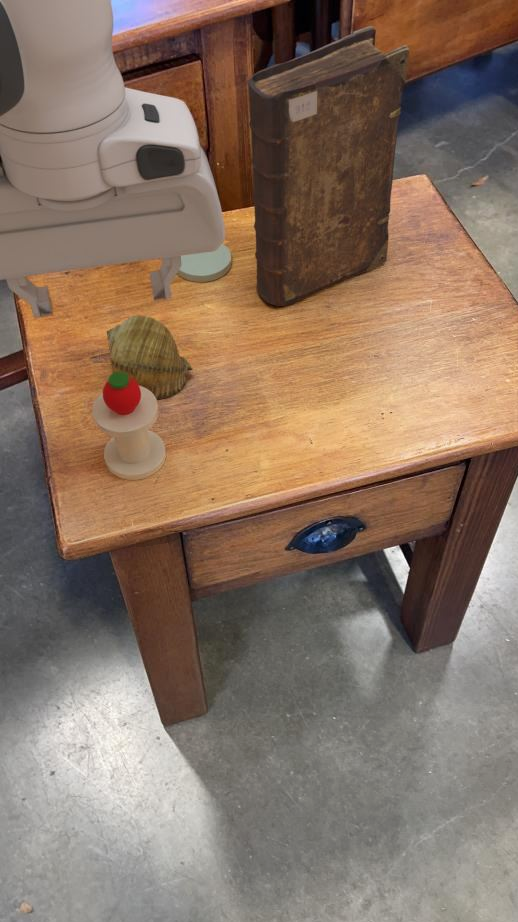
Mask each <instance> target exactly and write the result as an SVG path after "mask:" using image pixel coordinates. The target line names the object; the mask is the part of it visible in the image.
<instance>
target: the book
mask: <svg viewBox="0 0 518 922" xmlns="http://www.w3.org/2000/svg"><path fill="white" fill-rule="evenodd" d="M376 32H377V30H376V28H375V27H374V26H373V25H369V26H367V27H363V28H359V29H357V30H355V31H353V32H352V33H350V34H348V35H345V36H343V37H341V38H339V39H338V40H335V41H333V42H330V43H328V44H326V45H323V46H321V47H319V48H317V49H315V50H313V51H310V52H307V53H305V54H302V55H300V56H298V57H295V58H293V59H290V60H287V61H285V62H282V63H281V62H280V63H276V64H273V65H271V66H268V67H266V68H263V69H261V70H259V71H257V72H256V73H254V74H253V75H252V76H251V77H249V79H248V81H247V90H248V102H249V103H248V105H249V123H248V126H249V128H250V131H251V132H250V133H251V155H252V156H251V159H250V162H251V166H252V181H253V182H252V183H253V191H252V198H253V203H254V204H253V205H254V224H253V228H254V232H255V252H254V257H255V259H256V291H257V293H258V294H259V296H260V297H261V298H262V299H263V300H264V301H265V302H266V303H268V304H269V305H273V306H276V307H279V306H283V307H285V306H288V305H291V304H294V303H297V302H298V301H302V300H305V299H306V298H307V297H308V296H310V295H312V294H315V293H317V292H319V291H321V290H324V289H326V288H329V287H330V286H333V285H334V284H336V283H339V282H342V281H344V280H346V279H348V278H350V277H353V276H358V275H361V274H363V273H366V272H369V271H371V270H373V269H375V268H377V267H379V266H382V265H383V264H385V263H386V262H388V261H387V260H388V248H389V237H390V236H389V235H390V234H389V220H390V214H391V202H392V201H391V199H392V198H391V197H392V189H393V182H394V181H393V180H394V167H395V166H394V165H395V158H396V147H397V137H398V129H399V127H398V126H399V120H400V117H401V115H400V114H401V113H402V112H401V105H402V99H403V98H402V97H403V91H404V87H405V83H406V80H407V75H408V65H409V58H410V48H409V46H408V45H407V44H404V45H402V46H400V47H397V48H395V49H393V50H391V51H389V52H386V53H384V52H383V51H381V49H379V48H377V47H376V46H375V45H376V34H377V33H376Z"/></svg>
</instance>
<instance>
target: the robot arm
mask: <svg viewBox="0 0 518 922" xmlns="http://www.w3.org/2000/svg"><path fill="white" fill-rule="evenodd" d="M113 32H114V11H113V7H112V0H0V281H6V283H7V287H8V289H9V290H10V291H11V292H13V293H14V294H15V295H16V296H18V297H19V298H20V299H22V300H23V301H24V302H25V303H27V304H29V306H30V309H31V312H32V315H33V318H34V319H40V318H47V317H53V316H54V306H53V305H54V304H53V299H52V297H51V295H50V290H49V286H48V285H45V286H36V284H34V283H33V282H32V281H31V280H30V279H29V278H28V277H34V276H42V275H50V274H56V273H62V272H69V271H70V272H71V271H78V270H85V269H92V268H93V269H94V268H100V267H106V266H115V265H122V264H129V263H136V262H137V263H138V262H144V261H151V260H159V259H162V262H161V265H160V267H159V269H158V270H154V271H149V272H148V274H149V281H150V285H151V291H152V296H153V302H160V301H168V300H173V295H172V287H171V284H173V281H174V279H175V278H176V276H177V275H178V274H177V273H178V271H179V269H180V267H181V265H182V264H181V256H182V255H190V254H197V253H205V252H212V251H216V250H217V249H218V248H219V247H220V245H221V244H224V242H225V240H226V227H225V221H224V219H225V218H224V215H223V210H222V205H221V201H220V197H219V194H218V189H217V185H216V182H215V179H214V176H213V172H212V170H211V166H210V163H209V160H208V157H207V155H206V152H205V151H204V149H203V148H202V146H201V141H200V137H199V132H198V128H197V124H196V122H195V120H194V117H193V115H192V113H191V111H190V109H189V107H188V106H187V104H186V102H184V101H183V100H182V99H180V98H177V97H172V96H168V95H162V94H156V93H152V92H147V91H142V90H138V89H135V88H130V87H125V82H124V78H123V76H122V73H121V71H120V69H119V67H118V65H117V63H116V60H115V57H114V51H113V43H112V42H113V39H112V38H113Z"/></svg>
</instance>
